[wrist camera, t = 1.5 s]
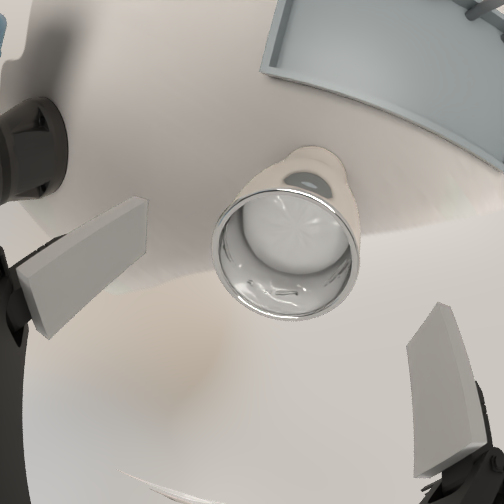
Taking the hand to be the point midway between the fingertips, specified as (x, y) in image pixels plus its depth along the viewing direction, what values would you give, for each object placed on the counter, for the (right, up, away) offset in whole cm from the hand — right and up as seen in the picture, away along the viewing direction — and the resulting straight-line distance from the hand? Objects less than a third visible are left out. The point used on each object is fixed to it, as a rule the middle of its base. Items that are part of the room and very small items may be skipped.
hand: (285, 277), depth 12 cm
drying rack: (+12, +18, +5) cm, 22 cm away
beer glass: (+4, +8, +14) cm, 16 cm away
